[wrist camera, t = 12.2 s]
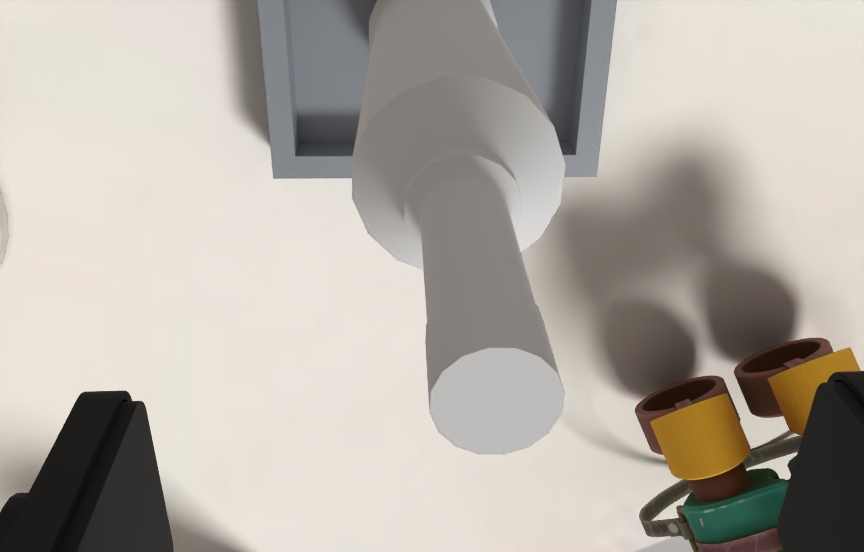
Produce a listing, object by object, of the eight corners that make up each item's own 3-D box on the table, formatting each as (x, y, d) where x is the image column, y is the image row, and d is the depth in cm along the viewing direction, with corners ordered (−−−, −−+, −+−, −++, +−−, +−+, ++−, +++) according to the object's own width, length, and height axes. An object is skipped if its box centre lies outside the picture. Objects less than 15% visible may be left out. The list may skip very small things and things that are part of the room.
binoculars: (825, 304, 47) (936, 323, 32) (927, 536, 46) (1089, 665, 31) (592, 393, 49) (596, 449, 34) (685, 614, 48) (730, 768, 34)
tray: (585, 155, 38) (596, 176, 36) (280, 157, 38) (273, 178, 35) (616, -134, 32) (631, -130, 30) (255, -137, 32) (244, -133, 29)
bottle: (500, 77, 35) (670, 503, 14) (380, 96, 36) (360, 547, 14) (485, -51, 33) (667, 223, 11) (357, -29, 33) (287, 281, 11)
